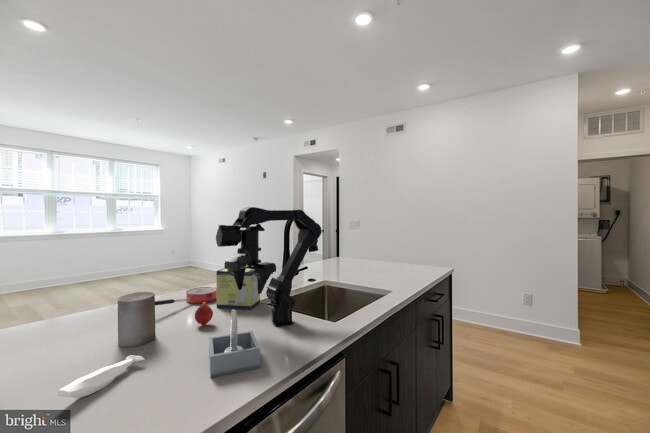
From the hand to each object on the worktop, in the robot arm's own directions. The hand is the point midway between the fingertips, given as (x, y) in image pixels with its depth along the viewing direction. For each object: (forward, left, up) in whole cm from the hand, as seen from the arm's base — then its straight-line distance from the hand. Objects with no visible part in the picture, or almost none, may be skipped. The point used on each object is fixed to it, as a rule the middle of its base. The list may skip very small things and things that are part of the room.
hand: (249, 291), depth 96 cm
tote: (+7, +19, -13) cm, 24 cm away
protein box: (0, -30, -13) cm, 33 cm away
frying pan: (+20, -37, -13) cm, 44 cm away
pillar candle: (+33, -6, -13) cm, 36 cm away
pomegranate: (+14, -11, -13) cm, 22 cm away
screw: (+7, +19, -12) cm, 24 cm away
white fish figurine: (+35, +18, -13) cm, 42 cm away
